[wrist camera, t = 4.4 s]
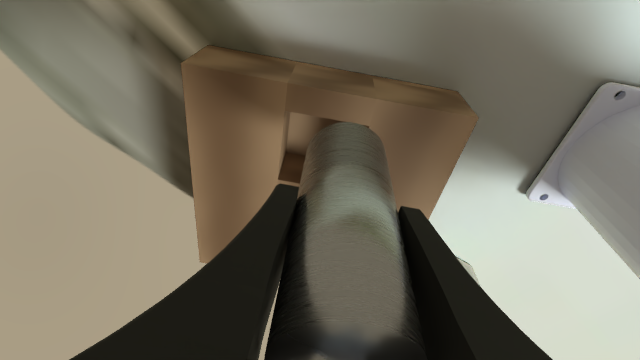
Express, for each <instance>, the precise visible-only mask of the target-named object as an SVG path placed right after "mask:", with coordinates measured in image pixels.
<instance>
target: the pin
mask: <svg viewBox="0 0 640 360" xmlns="http://www.w3.org/2000/svg"><path fill="white" fill-rule="evenodd" d="M264 360H427V356H426V351H425V346H424V341H423V336H422V331H421V326H420V321H419V316H418V311H417V306H416V301H415V296H414V291H413V286H412V281H411V276H410V271H409V266H408V261H407V256H406V251H405V246H404V241H403V236H402V231H401V226H400V221H399V216H398V211H397V206H396V201H395V196H394V191H393V186H392V181H391V177H390V172H389V167H388V162H387V157H386V152H385V148H384V145H383V143H382V141H381V139H380V138H379V136H378V135H377V134H376V133H375V132H373V131H372V130H371V129H369V128H368V127H366V126H363V125H361V124H357V123H352V122H340V123H335V124H332V125H329V126H327V127H325V128H323V129H321V130H320V131H319V132H318V133H316V134H315V136H314V137H313V138H312V139H311V141H310V143H309V145H308V148H307V151H306V156H305V161H304V166H303V171H302V176H301V181H300V186H299V191H298V197H297V202H296V207H295V212H294V217H293V222H292V226H291V230H290V235H289V239H288V244H287V249H286V254H285V259H284V264H283V269H282V274H281V279H280V283H279V288H278V294H277V298H276V303H275V308H274V313H273V318H272V323H271V328H270V333H269V337H268V342H267V347H266V352H265V359H264Z"/></svg>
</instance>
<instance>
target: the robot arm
mask: <svg viewBox="0 0 640 360" xmlns="http://www.w3.org/2000/svg"><path fill="white" fill-rule="evenodd" d="M619 91H621V92H620V94H619V95H618V96H616V97H614V96H615V94H616V93H617V92H619ZM298 191H299V187H297V186H291V185H286V184H281V183H280V184H278V185H276V186H275V188H274V190H273V192H272V193H271V195H270V196H269V198H268V199H267V200H266V202H265V203H264V204H263V206H262V207H261V208H260V210H259V211H258V212H257V213H256V214H255V216H254V217H253V218H252V219H251V220H250V221H249V223H248V224H247V225H246V226H245V227H244V228H243V229H242V230H241V231H240V232H239V234H238V235H237V236H236V237H235V238H234V239H233V240H232V241H231V242H230V243H229V244H228V245H227V246H226V247H225V248H224V249H223V250H222V251H221V252H220V253H219V254H217V255H216V256H215V257H214V258H213V259H212V260H211V261H210V262H209V263H207V264H206V265H205V266H204V267H203V268H202V269H201V270H199V271H198V272H197V273H196V274H195V275H193V276H192V277H191V278H190V279H188V280H187V281H186V282H185V283H183V284H182V285H181V286H180V287H178V288H177V289H176V290H175V291H173V292H172V293H170V294H169V295H168V296H166V297H165V298H164V299H162V300H161V301H160V302H158V303H157V304H155V305H154V306H153V307H151V308H149V309H148V310H147V311H145V312H144V313H142V314H141V315H139V316H138V317H136V318H135V319H133V320H132V321H130V322H129V323H128V324H126V325H125V326H123V327H122V328H120V329H119V330H117V331H116V332H114V333H112V334H111V335H109V336H108V337H106V338H105V339H103V340H101V341H100V342H98V343H96V344H95V345H93V346H91V347H90V348H88V349H86V350H85V351H83V352H81V353H80V354H78V355H76V356H75V357H73V358H71V359H70V360H258V358H259V354H260V349H261V344H262V340H263V336H264V332H265V328H266V325H267V322H268V318H269V315H270V312H271V308H272V305H273V302H274V298H275V295H276V291H277V288H278V285H279V282H280V278H281V274H282V269H283V264H284V259H285V254H286V249H287V244H288V239H289V235H290V230H291V226H292V222H293V217H294V212H295V207H296V202H297V197H298ZM543 194H544V195H543ZM541 195H543V196H541ZM526 196H527V198H528V199H529V200H530V201H534V202H539V203H545V204H551V205H557V206H562V207H568V208H574V209H577V210H578V211H579V212H580V213H581V214H582V215H583V216H584V217H585V219H586V220H587V221H588V222H589V223H590V224H591V225H592V226H593V227H594V229H595V230H596V231H597V232H598V233H599V234H600V235H601V236H602V238H603V239H604V240H605V241H606V242H607V243H608V244H609V245H610V246H611V248H612V249H613V250H614V251H615V252H616V253H617V254H618V255H619V256H620V258H621V259H622V260H623V261H624V262H625V263H626V264H627V265H628V266H629V268H630V269H631V270H632V271H633V272H634V273H635V274H636V275H637V277H638V278H639V279H640V87H635V86H630V85H624V84H619V83H614V82H609V83H606V84H604V85H602V86H601V87H600V88H599V89H598V90H597V91H596V93H595V94H594V96H593V97H592V99H591V100H590V101H589V103H588V104H587V106H586V107H585V109H584V110H583V112H582V113H581V114H580V116H579V117H578V119H577V120H576V122H575V123H574V124H573V126H572V127H571V129H570V130H569V132H568V133H567V134H566V136H565V137H564V139H563V140H562V142H561V143H560V145H559V146H558V147H557V149H556V150H555V152H554V153H553V155H552V156H551V157H550V159H549V160H548V162H547V163H546V165H545V166H544V167H543V169H542V170H541V172H540V173H539V175H538V176H537V178H536V179H535V180H534V182H533V183H532V185H531V186H530V188H529V189H528V190H527V192H526ZM398 216H399V221H400V226H401V231H402V236H403V241H404V246H405V251H406V256H407V261H408V266H409V271H410V276H411V281H412V286H413V291H414V296H415V301H416V306H417V311H418V316H419V321H420V326H421V331H422V336H423V341H424V346H425V351H426V356H427V360H552V359H551V358H550V357H549V356H548V355H547V354H546V353H545V352H544V351H543V350H542V349H540V348H539V347H538V346H537V345H536V344H535V343H534V342H533V341H532V340H531V339H530V338H529V337H528V336H527V335H526V334H525V333H523V332H522V331H521V330H520V329H519V328H518V327H517V326H516V324H515V323H514V322H513V321H512V320H511V319H510V318H509V317H508V316H507V315H506V314H505V313H504V312H503V311H502V310H501V309H500V308H499V307H498V306H497V305H496V304H495V303H494V302H493V301H492V299H491V298H490V297H489V296H488V295H487V294H486V293H485V292H484V290H483V289H482V288H481V287H480V286H479V285H478V283H477V282H476V281H475V280H474V279H473V278H472V276H471V275H470V274H469V273H468V272H467V270H466V269H465V268H464V267H463V265H462V264H461V263H460V262H459V260H458V259H457V258H456V257H455V255H454V254H453V253H452V251H451V250H450V249H449V247H448V246H447V245H446V243H445V242H444V241H443V239H442V238H441V237H440V235H439V234H438V233H437V231H436V230H435V229H434V227H433V226H432V225H431V223H430V222H429V220H428V219H427V218H426V216H425V215H424V214H423V213H422V211H421V210H420V209H416V208H410V207H405V206H401V207H400V209H399V212H398Z"/></svg>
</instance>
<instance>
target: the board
mask: <svg viewBox="0 0 640 360" xmlns="http://www.w3.org/2000/svg"><path fill="white" fill-rule="evenodd" d="M181 70H182V81H183V91H184V102H185V112H186V123H187V133H188V143H189V154H190V164H191V175H192V185H193V196H194V206H195V217H196V227H197V238H198V248H199V258H200V262H202V263H209V262H210V261H211V260H212V259H213V258H214V257H215V256H216V255H217V254H219V253H220V252H221V251H222V250H223V249H224V248H225V247H226V246H227V245H228V244H229V243H230V242H231V241H232V240H233V239H234V238H235V237H236V236H237V235H238V234H239V232H240V231H241V230H242V229H243V228H244V227H245V226H246V225H247V224H248V223H249V221H250V220H251V219H252V218H253V217H254V216H255V214H256V213H257V212H258V211H259V210H260V208H261V207H262V206H263V204H264V203H265V202H266V200H267V199H268V198H269V196H270V195H271V193H272V192H273V190H274V188H275V186H276V185H278V184H280V183H281V184H286V185H291V186H297V187H299V186H300V181H301V176H302V171H303V166H304V161H305V156H306V151H307V148H308V145H309V143H310V141H311V139H312V138H313V137H314V136H315V134H316V133H318V132H319V131H320V130H321V129H323V128H325V127H327V126H329V125H332V124H335V123H340V122H352V123H357V124H361V125H363V126H366V127H368V128H369V129H371V130H372V131H373V132H375V133H376V134H377V135H378V136H379V138H380V139H381V141H382V143H383V145H384V148H385V152H386V157H387V162H388V167H389V172H390V177H391V181H392V186H393V191H394V196H395V201H396V206H397V211H398V212H399V209H400V207H401V206H405V207H410V208H416V209H420V210H421V211H422V213H423V214H424V215H425V216H426V218H427V219H429V217H430V215H431V213H432V211H433V209H434V207H435V205H436V203H437V201H438V199H439V197H440V195H441V193H442V191H443V189H444V187H445V185H446V183H447V181H448V179H449V177H450V175H451V173H452V171H453V169H454V167H455V165H456V163H457V161H458V159H459V157H460V155H461V153H462V151H463V149H464V147H465V145H466V143H467V141H468V139H469V137H470V135H471V133H472V131H473V129H474V127H475V125H476V123H477V121H478V119H479V117H478V116H477V115H476V114H475V112H474V111H473V110H472V109H471V107H470V106H469V105H468V104H467V102H466V101H465V100H464V99H463V97H462V96H461V95H460V94H459V92H458V91H453V90H447V89H442V88H437V87H431V86H426V85H421V84H415V83H410V82H404V81H399V80H394V79H388V78H383V77H378V76H372V75H367V74H361V73H356V72H351V71H345V70H340V69H335V68H329V67H324V66H318V65H313V64H308V63H302V62H297V61H292V60H286V59H281V58H275V57H270V56H265V55H259V54H254V53H249V52H243V51H238V50H232V49H227V48H222V47H216V46H211V45H207V46H206V47H204V48H203V49H201V50H200V51H198V52H197V53H195V54H194V55H192V56H191V57H189V58H188V59H186V60H185V61H183V62H182V63H181Z"/></svg>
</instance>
